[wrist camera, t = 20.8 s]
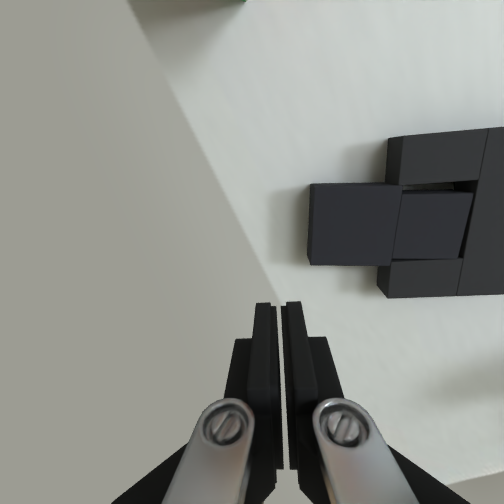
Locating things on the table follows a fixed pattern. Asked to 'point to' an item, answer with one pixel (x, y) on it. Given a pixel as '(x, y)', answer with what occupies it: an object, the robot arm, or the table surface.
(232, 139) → the table surface
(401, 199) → the pad
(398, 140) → the socket pad
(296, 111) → the table surface
